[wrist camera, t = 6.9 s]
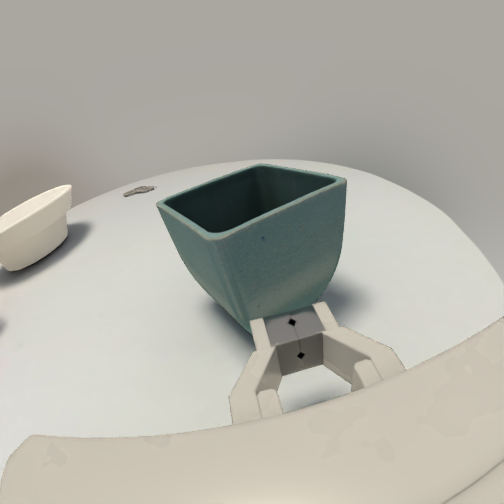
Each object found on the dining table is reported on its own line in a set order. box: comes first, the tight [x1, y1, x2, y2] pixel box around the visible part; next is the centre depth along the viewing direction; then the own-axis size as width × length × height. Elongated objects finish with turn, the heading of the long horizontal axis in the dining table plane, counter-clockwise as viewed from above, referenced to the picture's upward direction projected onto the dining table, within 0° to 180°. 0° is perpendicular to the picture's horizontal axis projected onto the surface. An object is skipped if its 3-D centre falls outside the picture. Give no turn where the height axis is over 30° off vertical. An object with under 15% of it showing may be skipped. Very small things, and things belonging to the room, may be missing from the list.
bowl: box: [0, 185, 72, 271], centre depth 40 cm, size 21×21×8 cm
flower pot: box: [156, 164, 347, 334], centre depth 20 cm, size 9×9×9 cm
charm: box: [123, 186, 156, 196], centre depth 59 cm, size 8×1×4 cm
